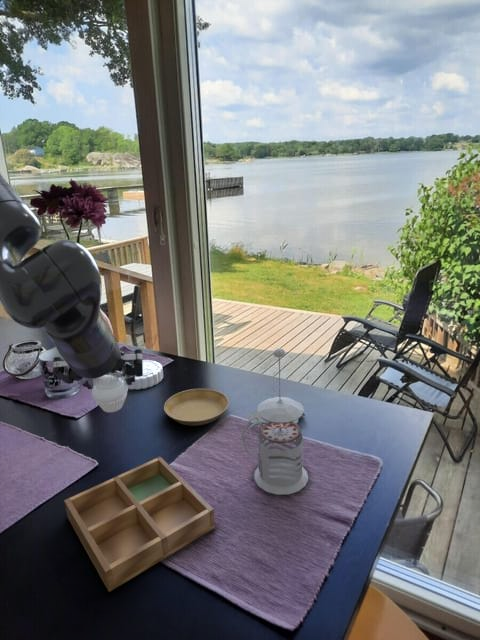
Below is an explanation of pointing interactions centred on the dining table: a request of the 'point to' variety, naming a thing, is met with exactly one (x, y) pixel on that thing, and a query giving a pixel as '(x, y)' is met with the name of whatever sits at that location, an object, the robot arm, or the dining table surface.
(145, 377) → the mooncake
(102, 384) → the muffin
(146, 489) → the grid
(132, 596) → the dining table surface
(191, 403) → the plant saucer
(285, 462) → the french press
